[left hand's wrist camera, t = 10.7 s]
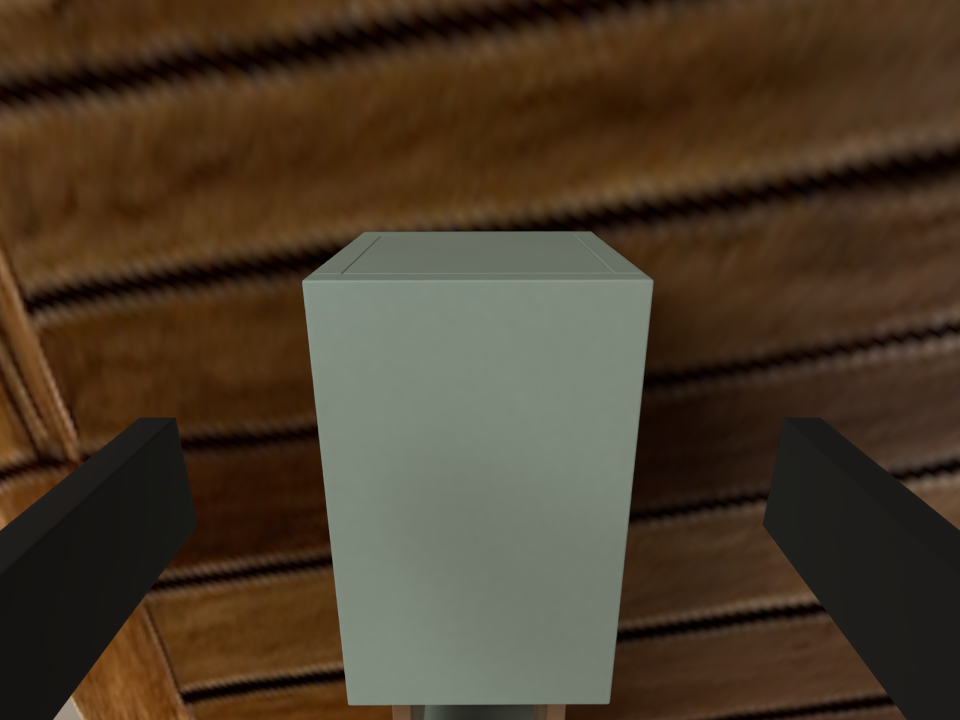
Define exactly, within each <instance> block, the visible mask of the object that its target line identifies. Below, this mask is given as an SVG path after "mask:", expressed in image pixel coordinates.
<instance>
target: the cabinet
mask: <svg viewBox="0 0 960 720" xmlns="http://www.w3.org/2000/svg"><path fill="white" fill-rule="evenodd" d="M302 283H303V293H304V302H305V311H306V320H307V329H308V339H309V348H310V357H311V366H312V375H313V384H314V394H315V403H316V412H317V421H318V430H319V439H320V449H321V458H322V467H323V476H324V485H325V495H326V504H327V513H328V522H329V531H330V540H331V550H332V559H333V568H334V577H335V586H336V596H337V605H338V614H339V623H340V632H341V641H342V651H343V660H344V669H345V678H346V687H347V697H348V704H349V705H506V704H609V703H610V694H611V685H612V675H613V666H614V656H615V646H616V637H617V627H618V618H619V608H620V599H621V589H622V579H623V570H624V560H625V551H626V541H627V531H628V522H629V512H630V503H631V493H632V484H633V474H634V464H635V455H636V445H637V436H638V426H639V416H640V407H641V397H642V388H643V378H644V369H645V359H646V349H647V340H648V330H649V321H650V311H651V301H652V292H653V280H652V279H651V278H650V277H649V276H647V275H646V274H644V273H643V272H642V271H641V270H639V269H638V268H637V267H636V266H634V265H633V264H632V263H630V262H629V261H628V260H627V259H625V258H624V257H623V256H621V255H620V254H619V253H618V252H616V251H615V250H614V249H612V248H611V247H610V246H608V245H607V244H606V243H605V242H603V241H602V240H601V239H599V238H598V237H597V236H596V235H594V234H593V233H592V232H364V233H363V234H362V235H361V236H359V237H358V238H357V239H355V240H354V241H353V242H352V243H350V244H349V245H348V246H346V247H345V248H344V249H343V250H341V251H340V252H339V253H337V254H336V255H335V256H334V257H332V258H331V259H330V260H329V261H327V262H326V263H325V264H323V265H322V266H321V267H320V268H318V269H317V270H316V271H315V272H313V273H312V274H311V275H309V276H308V277H307V278H306V279H304V280H303V282H302Z"/></svg>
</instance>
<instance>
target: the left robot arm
mask: <svg viewBox="0 0 960 720" xmlns="http://www.w3.org/2000/svg"><path fill="white" fill-rule="evenodd" d="M196 526H197V521H196V516H195V512H194V507H193V502H192V497H191V492H190V487H189V482H188V477H187V472H186V467H185V462H184V457H183V452H182V447H181V442H180V438H179V433H178V428H177V423H176V418H139V419H138V420H136V421H135V422H134V423H133V424H132V425H130V426H129V427H128V428H127V429H125V430H124V431H123V432H122V433H120V434H119V435H118V436H117V437H115V438H114V439H113V440H112V441H110V442H109V443H108V444H107V445H106V446H104V447H103V448H102V449H101V450H99V451H98V452H97V453H96V454H94V455H93V456H92V457H91V458H89V459H88V460H87V461H86V462H85V463H83V464H82V465H81V466H80V467H78V468H77V469H76V470H75V471H73V472H72V473H71V474H70V475H68V476H67V477H66V478H65V479H64V480H62V481H61V482H60V483H59V484H57V485H56V486H55V487H54V488H52V489H51V490H50V491H49V492H47V493H46V494H45V495H44V496H43V497H41V498H40V499H39V500H38V501H36V502H35V503H34V504H33V505H31V506H30V507H29V508H28V509H26V510H25V511H24V512H23V513H22V514H20V515H19V516H18V517H17V518H15V519H14V520H13V521H12V522H10V523H9V524H8V525H7V526H5V527H4V528H3V529H2V530H0V720H53V719H54V718H55V716H56V715H57V714H58V712H59V711H60V710H61V708H62V707H63V706H64V704H65V703H66V702H67V700H68V699H69V698H70V696H71V695H72V693H73V692H74V691H75V689H76V688H77V687H78V685H79V684H80V683H81V681H82V680H83V679H84V677H85V676H86V675H87V673H88V672H89V670H90V669H91V668H92V666H93V665H94V664H95V662H96V661H97V660H98V658H99V657H100V656H101V654H102V653H103V652H104V650H105V649H106V647H107V646H108V645H109V643H110V642H111V641H112V639H113V638H114V637H115V635H116V634H117V633H118V631H119V630H120V629H121V627H122V626H123V625H124V623H125V622H126V620H127V619H128V618H129V616H130V615H131V614H132V612H133V611H134V610H135V608H136V607H137V606H138V604H139V603H140V602H141V600H142V599H143V597H144V596H145V595H146V593H147V592H148V591H149V589H150V588H151V587H152V585H153V584H154V583H155V581H156V580H157V579H158V577H159V576H160V574H161V573H162V572H163V570H164V569H165V568H166V566H167V565H168V564H169V562H170V561H171V560H172V558H173V557H174V556H175V554H176V553H177V552H178V550H179V549H180V547H181V546H182V545H183V543H184V542H185V541H186V539H187V538H188V537H189V535H190V534H191V533H192V531H193V530H194V529H195V527H196ZM763 526H764V527H765V529H766V530H767V531H768V533H769V534H770V535H771V537H772V538H773V539H774V541H775V542H776V543H777V545H778V546H779V547H780V549H781V550H782V552H783V553H784V554H785V556H786V557H787V558H788V560H789V561H790V562H791V564H792V565H793V566H794V568H795V569H796V570H797V572H798V573H799V574H800V576H801V577H802V579H803V580H804V581H805V583H806V584H807V585H808V587H809V588H810V589H811V591H812V592H813V593H814V595H815V596H816V597H817V599H818V600H819V602H820V603H821V604H822V606H823V607H824V608H825V610H826V611H827V612H828V614H829V615H830V616H831V618H832V619H833V620H834V622H835V623H836V625H837V626H838V627H839V629H840V630H841V631H842V633H843V634H844V635H845V637H846V638H847V639H848V641H849V642H850V643H851V645H852V646H853V647H854V649H855V650H856V652H857V653H858V654H859V656H860V657H861V658H862V660H863V661H864V662H865V664H866V665H867V666H868V668H869V669H870V670H871V672H872V673H873V675H874V676H875V677H876V679H877V680H878V681H879V683H880V684H881V685H882V687H883V688H884V689H885V691H886V692H887V693H888V695H889V696H890V698H891V699H892V700H893V702H894V703H895V704H896V706H897V707H898V708H899V710H900V711H901V712H902V714H903V715H904V716H905V718H906V719H907V720H960V530H958V529H957V528H956V527H955V526H953V525H952V524H951V523H950V522H948V521H947V520H946V519H945V518H943V517H942V516H941V515H940V514H938V513H937V512H936V511H935V510H934V509H932V508H931V507H930V506H929V505H927V504H926V503H925V502H924V501H922V500H921V499H920V498H919V497H917V496H916V495H915V494H914V493H913V492H911V491H910V490H909V489H908V488H906V487H905V486H904V485H903V484H901V483H900V482H899V481H898V480H896V479H895V478H894V477H893V476H892V475H890V474H889V473H888V472H887V471H885V470H884V469H883V468H882V467H880V466H879V465H878V464H877V463H875V462H874V461H873V460H872V459H871V458H869V457H868V456H867V455H866V454H864V453H863V452H862V451H861V450H859V449H858V448H857V447H856V446H854V445H853V444H852V443H851V442H850V441H848V440H847V439H846V438H845V437H843V436H842V435H841V434H840V433H838V432H837V431H836V430H835V429H833V428H832V427H831V426H830V425H828V424H827V423H826V422H825V421H824V420H822V419H821V418H784V423H783V428H782V433H781V438H780V442H779V447H778V452H777V457H776V462H775V467H774V472H773V477H772V482H771V487H770V492H769V497H768V502H767V507H766V512H765V516H764V521H763Z"/></svg>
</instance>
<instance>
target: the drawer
mask: <svg viewBox="0 0 960 720" xmlns="http://www.w3.org/2000/svg"><path fill="white" fill-rule="evenodd" d="M392 710H393V720H565V710H566V704H506V705H392Z"/></svg>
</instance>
